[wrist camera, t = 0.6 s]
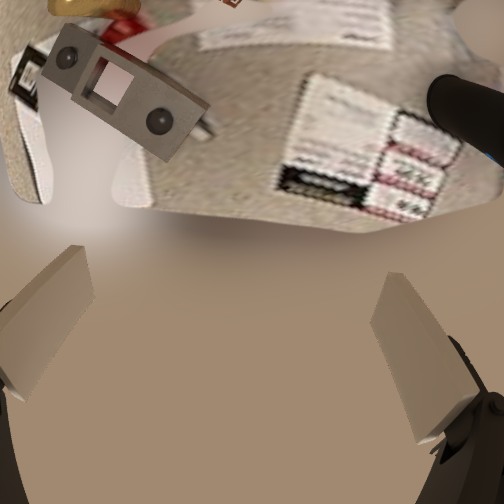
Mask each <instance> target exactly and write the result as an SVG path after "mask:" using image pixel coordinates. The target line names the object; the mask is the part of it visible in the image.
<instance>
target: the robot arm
mask: <svg viewBox="0 0 504 504" xmlns="http://www.w3.org/2000/svg"><path fill="white" fill-rule="evenodd" d="M94 299H95V295H94V291H93V287H92V282H91V278H90V273H89V269H88V264H87V259H86V253H85V248H84V246H76V245H71V246H69V247H68V248H67V249H66V250H65V251H64V252H63V253H61V254H60V255H59V256H58V257H57V258H56V259H54V260H53V261H52V262H51V263H50V264H49V265H48V266H47V267H46V268H44V269H43V270H42V271H41V272H40V273H39V274H38V275H37V276H36V277H35V278H34V279H33V280H32V281H31V282H30V283H28V284H27V285H26V286H25V287H24V288H23V289H22V290H21V291H20V292H19V293H18V294H17V296H15V297H14V298H13V299H12V300H10V301H9V302H7V303H6V304H5V305H4V306H3V307H2V308H1V310H0V504H29V502H28V499H27V496H26V493H25V490H24V487H23V484H22V481H21V477H20V474H19V470H18V466H17V462H16V458H15V453H14V449H13V445H12V440H11V433H10V427H9V421H8V413H7V405H6V397H5V393H4V392H3V390H2V389H3V388H4V386H6V387H7V388H8V390H9V391H10V392H11V394H12V395H13V396H15V397H16V398H18V399H20V400H22V401H24V402H27V400H28V398H29V396H30V395H31V393H32V391H33V389H34V388H35V386H36V384H37V383H38V381H39V379H40V378H41V376H42V374H43V373H44V371H45V370H46V368H47V366H48V365H49V363H50V362H51V360H52V358H53V357H54V356H55V354H56V353H57V351H58V349H59V348H60V347H61V345H62V343H63V342H64V341H65V339H66V338H67V336H68V335H69V333H70V332H71V330H72V329H73V328H74V326H75V325H76V323H77V322H78V320H79V319H80V318H81V316H82V315H83V314H84V312H85V311H86V309H87V308H88V307H89V305H90V304H91V303H92V301H93V300H94ZM370 324H371V326H372V328H373V331H374V333H375V335H376V338H377V340H378V342H379V345H380V347H381V349H382V352H383V354H384V357H385V359H386V361H387V364H388V366H389V369H390V371H391V374H392V376H393V379H394V381H395V384H396V387H397V389H398V392H399V394H400V397H401V400H402V403H403V405H404V408H405V411H406V414H407V417H408V419H409V422H410V425H411V428H412V431H413V434H414V437H415V440H416V443H417V445H418V444H422V443H425V442H429V441H432V440H435V438H437V437H438V436H439V435H440V434H441V433H442V432H443V431H444V433H445V435H446V437H445V438H444V439H443V440H442V441H441V442H440V443H439V444H438V445H436V446H435V447H434V448H433V449H432V450H431V452H430V454H433V453H434V452H435V451H436V450H438V449H439V450H438V453H437V454H436V455H435V456H436V459H435V461H434V463H433V466H432V469H431V471H430V473H429V476H428V478H427V480H426V482H425V484H424V487H423V489H422V491H421V493H420V495H419V497H418V499H417V501H416V503H415V504H504V397H503V396H502V395H501V394H499V393H496V392H488V391H487V389H486V387H485V386H484V384H483V382H482V380H481V379H480V377H479V375H478V373H477V372H476V370H475V369H474V367H473V365H472V364H470V360H469V359H468V357H467V356H465V352H464V351H463V349H462V348H461V346H460V344H459V343H458V342H457V341H455V340H454V339H453V338H452V337H451V336H447V335H446V333H445V332H444V330H443V329H442V327H441V326H440V324H439V323H438V321H437V320H436V318H435V317H434V315H433V314H432V312H431V311H430V310H429V308H428V307H427V305H426V304H425V303H424V301H423V300H422V298H421V297H420V296H419V294H418V293H417V292H416V290H415V289H414V287H413V286H412V285H411V283H410V282H409V281H408V279H407V278H406V277H405V276H404V274H403V273H394V272H388V274H387V277H386V280H385V283H384V286H383V289H382V292H381V294H380V297H379V300H378V303H377V305H376V308H375V311H374V313H373V316H372V318H371V321H370Z"/></svg>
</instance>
